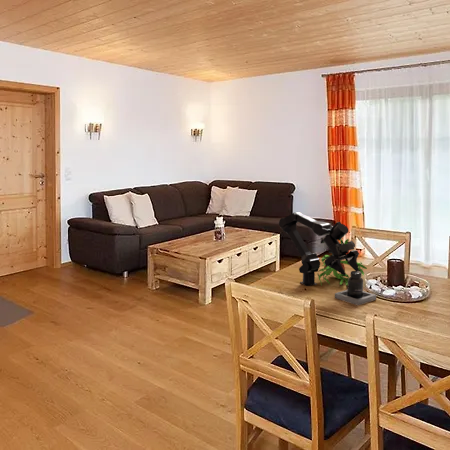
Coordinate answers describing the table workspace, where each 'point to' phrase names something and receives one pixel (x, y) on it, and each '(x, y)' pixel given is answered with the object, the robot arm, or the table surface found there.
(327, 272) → the decorative plant
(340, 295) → the tray
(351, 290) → the supplement bottle
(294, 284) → the table surface
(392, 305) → the table surface
